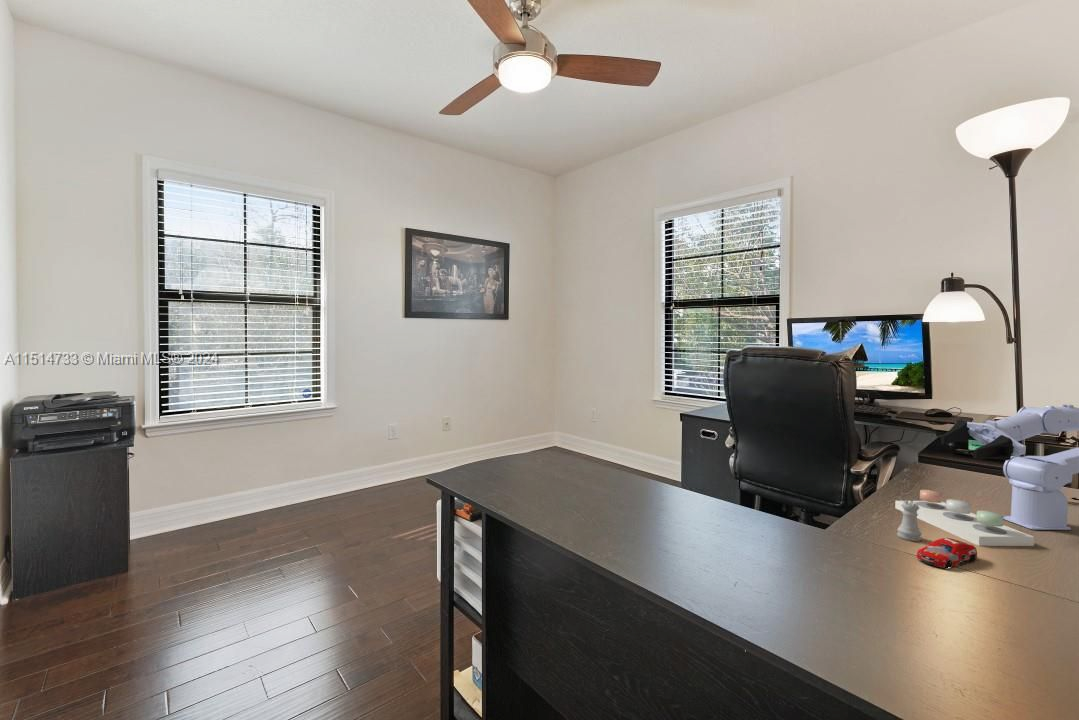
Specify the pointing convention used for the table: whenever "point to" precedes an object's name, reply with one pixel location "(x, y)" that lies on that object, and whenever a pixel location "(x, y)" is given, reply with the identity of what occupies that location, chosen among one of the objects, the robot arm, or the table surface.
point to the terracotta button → (931, 496)
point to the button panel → (968, 526)
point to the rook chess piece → (909, 522)
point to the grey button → (958, 506)
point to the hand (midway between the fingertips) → (957, 447)
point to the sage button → (990, 518)
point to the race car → (947, 553)
